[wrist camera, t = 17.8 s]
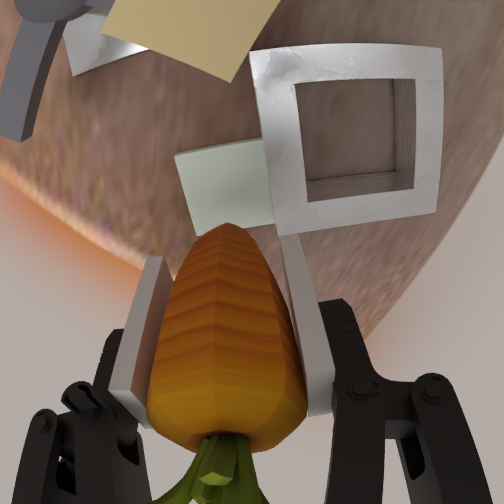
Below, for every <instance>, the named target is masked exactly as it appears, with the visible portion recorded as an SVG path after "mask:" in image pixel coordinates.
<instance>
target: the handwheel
mask: <svg viewBox="0 0 504 504" xmlns="http://www.w3.org/2000/svg"><path fill="white" fill-rule="evenodd" d="M14 1H15V6H16V8H17V10H18V12H19V14H20V15H21V16H22V17H23V19H22V22H21V24H20V27H19V30H18V33H17V36H16V39H15V42H14V45H13V48H12V51H11V54H10V58H9V61H8V65H7V68H6V72H5V76H4V80H3V84H2V88H1V92H0V135H2V136H5V137H7V138H10V139H12V140H15V141H17V142H20V143H21V142H22V141H24V140H26V139H27V138H29V137H31V136H32V133H33V128H34V124H35V120H36V116H37V112H38V108H39V104H40V100H41V96H42V93H43V89H44V86H45V83H46V79H47V76H48V73H49V70H50V67H51V64H52V61H53V58H54V55H55V53H56V50H57V47H58V44H59V42H60V39H61V37H62V34H63V32H64V29H65V27H66V24H67V22H69V21H72V20H75V19H77V18H79V17H81V16H83V15H84V14H86V13H87V12H88V11H90V10H91V9H92V8H93V7H96V8H100V9H104V10H107V11H110V12H109V14H108V16H107V19H106V21H105V23H104V25H103V27H102V29H101V32H100V33H102V34H105V35H109V36H112V37H115V38H118V39H121V40H124V41H127V42H130V43H133V44H136V45H139V46H142V47H145V48H148V49H150V50H153V51H156V52H158V53H161V54H164V55H166V56H169V57H171V58H174V59H176V60H179V61H181V62H184V63H186V64H189V65H191V66H194V67H196V68H198V69H201V70H203V71H205V72H207V73H210V74H212V75H214V76H216V77H219V78H221V79H223V80H225V81H227V82H229V83H231V81H232V79H233V78H234V76H235V74H236V72H237V71H238V69H239V67H240V65H241V64H242V62H243V60H244V58H245V57H246V55H247V53H248V52H249V50H250V48H251V47H252V45H253V43H254V42H255V40H256V38H257V37H258V35H259V34H260V32H261V30H262V29H263V27H264V26H265V24H266V22H267V21H268V19H269V18H270V16H271V14H272V13H273V11H274V10H275V8H276V7H277V5H278V4H279V2H280V1H281V0H14Z"/></svg>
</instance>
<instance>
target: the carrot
mask: <svg viewBox="0 0 504 504" xmlns="http://www.w3.org/2000/svg"><path fill="white" fill-rule="evenodd" d="M307 410H308V399H307V393H306V387H305V381H304V376H303V370H302V365H301V359H300V355H299V350H298V345H297V342H296V338H295V334H294V330H293V326H292V322H291V318H290V314H289V311H288V307H287V305H286V303H285V300H284V298H283V295H282V293H281V291H280V288H279V286H278V284H277V282H276V279H275V277H274V275H273V273H272V271H271V269H270V267H269V265H268V263H267V261H266V260H265V258H264V256H263V254H262V253H261V251H260V249H259V247H258V246H257V244H256V242H255V240H254V239H253V238H252V237H251V236H250V235H249V233H248V232H247V231H246V230H244V229H243V228H241V227H239V226H237V225H235V224H231V223H227V222H226V223H224V224H222V225H219V226H217V227H215V228H214V229H212V230H210V231H208V232H206V233H205V234H204V235H203V236H202V237H201V238H200V239H198V240H197V241H196V242H195V243H194V245H193V247H192V248H191V250H190V252H189V253H188V255H187V257H186V258H185V260H184V262H183V264H182V266H181V268H180V270H179V272H178V274H177V276H176V279H175V281H174V283H173V286H172V290H171V293H170V297H169V300H168V304H167V307H166V311H165V314H164V318H163V322H162V326H161V330H160V335H159V339H158V344H157V348H156V353H155V357H154V362H153V367H152V372H151V377H150V382H149V388H148V393H147V399H146V415H147V420H148V423H149V424H150V425H151V426H152V427H153V428H154V430H155V431H156V432H157V433H158V434H160V435H162V436H164V437H166V438H167V439H169V440H171V441H173V442H175V443H176V444H178V445H180V446H182V447H184V448H185V449H187V450H189V451H191V452H194V453H197V454H196V456H195V458H194V460H193V462H192V464H191V466H190V467H189V469H188V471H187V472H186V474H185V475H184V477H183V478H182V479H181V480H180V481H179V482H178V483H177V484H176V485H175V486H174V487H173V488H172V489H170V490H169V491H168V492H167V493H165V494H164V495H163V496H161V497H160V498H159V499H157V500H154V501H151V502H148V503H145V504H189V503H190V501H191V500H192V499H194V500H195V501H196V502H197V503H198V504H204V503H205V504H269V502H268V501H267V499H266V498H265V496H264V494H263V493H262V491H261V490H260V488H259V486H258V482H257V477H256V472H255V469H254V464H253V459H252V454H251V453H256V452H262V451H267V450H269V449H271V448H274V447H275V446H276V445H278V444H279V443H280V442H281V441H282V440H284V439H285V438H286V437H287V436H288V435H289V434H291V433H292V432H293V431H294V430H295V429H296V428H297V427H298V426H299V425H300V424H301V422H302V421H303V420H304V419H305V418H306V415H307Z"/></svg>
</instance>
